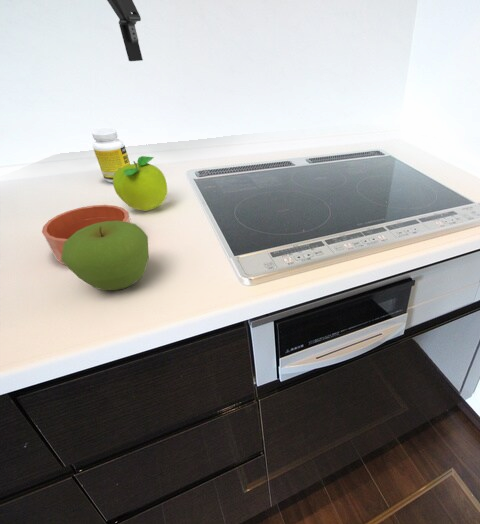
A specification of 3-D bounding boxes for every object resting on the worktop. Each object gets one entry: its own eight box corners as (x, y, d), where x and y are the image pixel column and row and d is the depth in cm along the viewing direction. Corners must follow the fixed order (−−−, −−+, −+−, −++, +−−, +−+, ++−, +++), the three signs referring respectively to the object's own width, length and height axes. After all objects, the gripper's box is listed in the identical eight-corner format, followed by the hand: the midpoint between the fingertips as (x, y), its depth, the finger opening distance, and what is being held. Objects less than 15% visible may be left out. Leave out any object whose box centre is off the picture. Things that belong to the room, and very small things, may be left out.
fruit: (180, 200, 79) (169, 155, 73) (155, 220, 72) (141, 172, 66) (141, 195, 80) (127, 150, 74) (112, 215, 73) (94, 166, 67)
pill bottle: (136, 180, 86) (121, 133, 80) (106, 185, 83) (88, 137, 77) (132, 171, 90) (117, 126, 84) (103, 176, 87) (86, 129, 81)
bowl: (38, 254, 61) (24, 228, 58) (105, 223, 70) (96, 199, 67) (88, 275, 57) (75, 248, 54) (152, 239, 66) (144, 214, 63)
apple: (140, 254, 62) (122, 201, 56) (172, 280, 57) (155, 225, 51) (68, 283, 55) (39, 226, 49) (97, 316, 50) (68, 257, 44)
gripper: (140, -71, 66) (168, 62, 78) (65, -68, 75) (100, 50, 88) (99, -79, 60) (136, 65, 73) (23, -74, 70) (67, 52, 82)
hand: (116, 57), depth 80 cm, fingers open, 13 cm apart
